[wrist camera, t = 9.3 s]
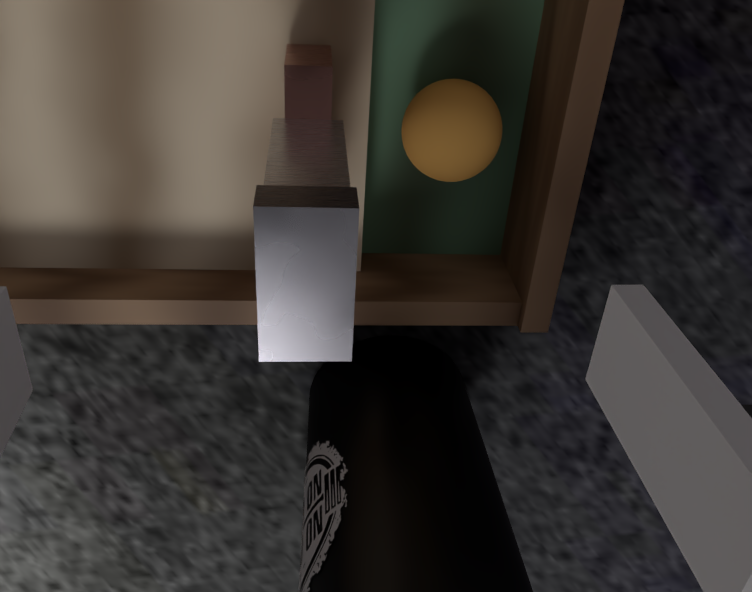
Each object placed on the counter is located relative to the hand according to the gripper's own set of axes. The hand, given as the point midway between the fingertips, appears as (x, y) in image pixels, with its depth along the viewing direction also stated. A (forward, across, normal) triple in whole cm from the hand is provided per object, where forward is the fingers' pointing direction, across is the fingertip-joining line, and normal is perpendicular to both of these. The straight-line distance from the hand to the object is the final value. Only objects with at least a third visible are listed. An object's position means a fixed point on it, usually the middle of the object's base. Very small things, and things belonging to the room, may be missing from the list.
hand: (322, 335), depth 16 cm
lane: (+16, -4, 0) cm, 17 cm away
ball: (+14, +6, 0) cm, 15 cm away
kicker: (+14, 0, 0) cm, 14 cm away
